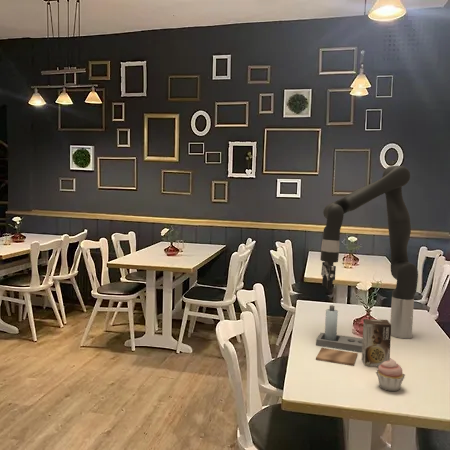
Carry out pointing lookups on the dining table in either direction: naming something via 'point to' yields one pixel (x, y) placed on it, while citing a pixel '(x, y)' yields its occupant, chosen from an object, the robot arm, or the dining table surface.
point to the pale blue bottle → (331, 324)
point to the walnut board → (337, 356)
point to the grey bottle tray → (341, 342)
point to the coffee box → (376, 342)
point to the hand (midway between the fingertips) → (326, 287)
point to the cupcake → (390, 375)
